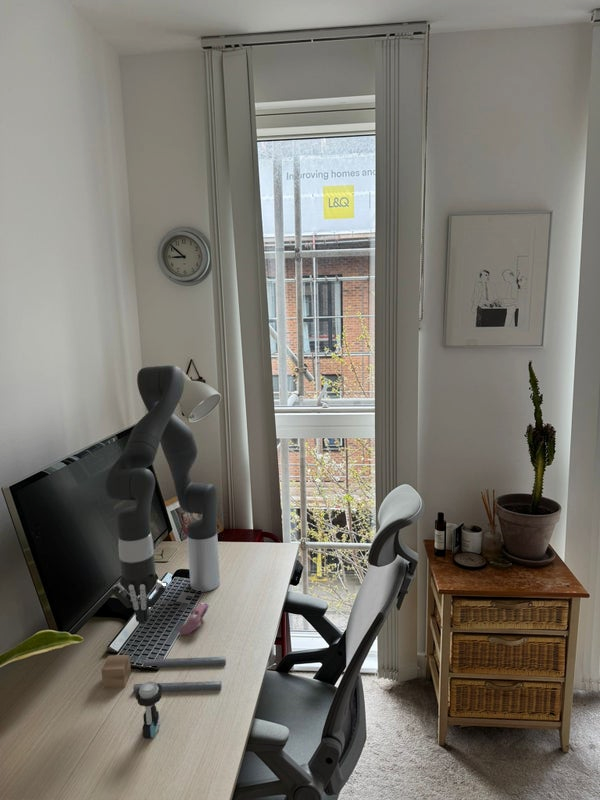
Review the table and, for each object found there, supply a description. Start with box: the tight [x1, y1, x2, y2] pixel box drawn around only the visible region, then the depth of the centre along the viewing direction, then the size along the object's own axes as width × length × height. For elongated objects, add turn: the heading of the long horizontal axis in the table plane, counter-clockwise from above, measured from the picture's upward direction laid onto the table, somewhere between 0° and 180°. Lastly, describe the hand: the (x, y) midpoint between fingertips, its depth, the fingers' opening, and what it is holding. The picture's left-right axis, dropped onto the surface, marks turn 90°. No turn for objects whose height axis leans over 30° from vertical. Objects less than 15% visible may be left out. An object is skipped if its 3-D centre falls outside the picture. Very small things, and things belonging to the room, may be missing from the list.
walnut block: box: [101, 654, 132, 690], centre depth 126 cm, size 5×5×5 cm
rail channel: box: [132, 656, 227, 694], centre depth 127 cm, size 10×20×2 cm, turn 91°
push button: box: [134, 680, 163, 739], centre depth 111 cm, size 7×5×10 cm
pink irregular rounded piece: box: [178, 602, 210, 636], centre depth 146 cm, size 10×5×7 cm, turn 169°
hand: (142, 621), depth 124 cm, fingers closed
